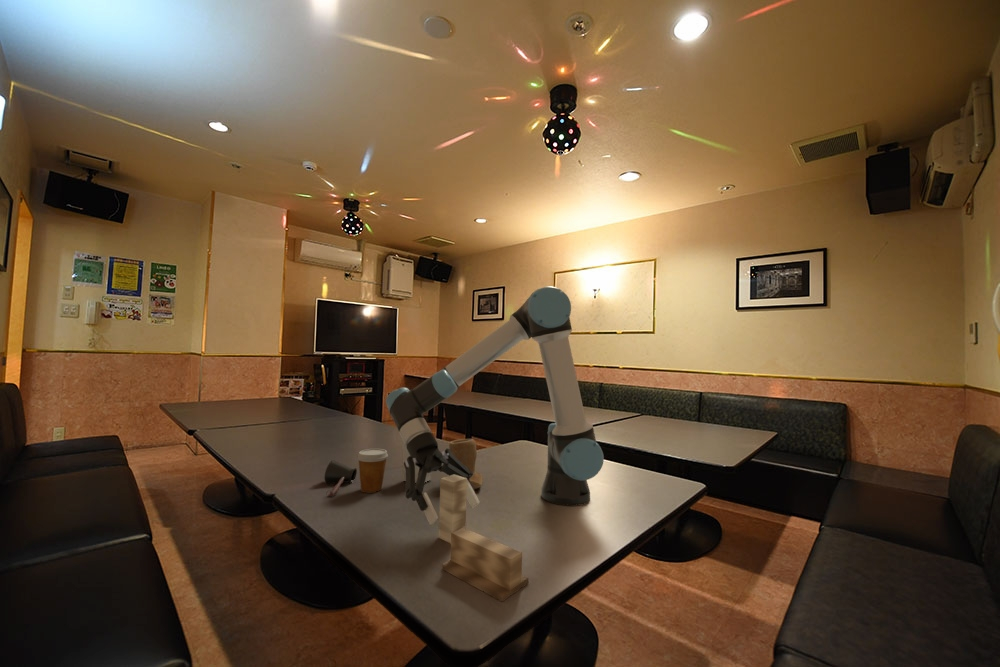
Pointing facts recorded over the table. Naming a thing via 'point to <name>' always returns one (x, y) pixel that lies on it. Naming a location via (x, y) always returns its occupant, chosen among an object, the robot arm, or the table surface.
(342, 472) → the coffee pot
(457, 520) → the block
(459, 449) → the tan upright curved piece
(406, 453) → the skincare box
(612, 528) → the table surface
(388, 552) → the table surface
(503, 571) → the ridge
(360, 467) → the disposable coffee cup
